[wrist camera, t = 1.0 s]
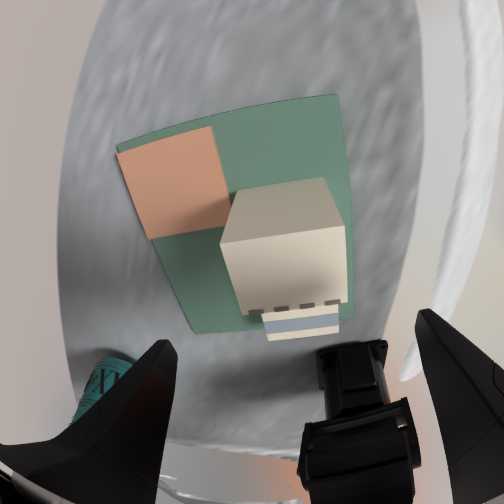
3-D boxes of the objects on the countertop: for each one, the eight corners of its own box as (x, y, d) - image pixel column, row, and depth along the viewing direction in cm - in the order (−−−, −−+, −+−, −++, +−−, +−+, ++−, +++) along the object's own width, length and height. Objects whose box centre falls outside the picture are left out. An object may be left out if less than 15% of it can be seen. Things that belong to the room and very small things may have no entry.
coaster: (236, 221, 18) (235, 223, 18) (150, 236, 19) (148, 239, 19) (211, 125, 15) (209, 125, 15) (119, 152, 16) (116, 154, 16)
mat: (353, 313, 22) (354, 317, 22) (195, 330, 24) (194, 334, 24) (336, 93, 14) (337, 94, 14) (120, 143, 16) (116, 145, 16)
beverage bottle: (167, 371, 28) (121, 548, 12) (137, 386, 31) (93, 532, 14) (117, 336, 26) (45, 520, 9) (93, 355, 29) (32, 505, 12)
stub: (329, 237, 18) (347, 303, 13) (251, 248, 19) (242, 316, 14) (323, 176, 16) (344, 226, 11) (237, 190, 17) (219, 244, 12)
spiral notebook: (334, 311, 21) (339, 333, 20) (269, 319, 22) (268, 341, 20) (330, 242, 18) (336, 263, 16) (253, 253, 19) (250, 275, 17)
